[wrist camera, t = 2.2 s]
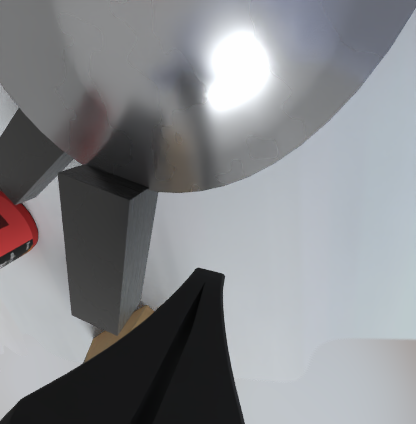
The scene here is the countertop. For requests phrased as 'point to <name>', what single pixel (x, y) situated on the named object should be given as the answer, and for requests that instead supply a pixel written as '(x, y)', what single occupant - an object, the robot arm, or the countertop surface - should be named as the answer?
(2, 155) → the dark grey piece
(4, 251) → the canned food
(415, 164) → the countertop surface
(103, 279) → the cooker lid
